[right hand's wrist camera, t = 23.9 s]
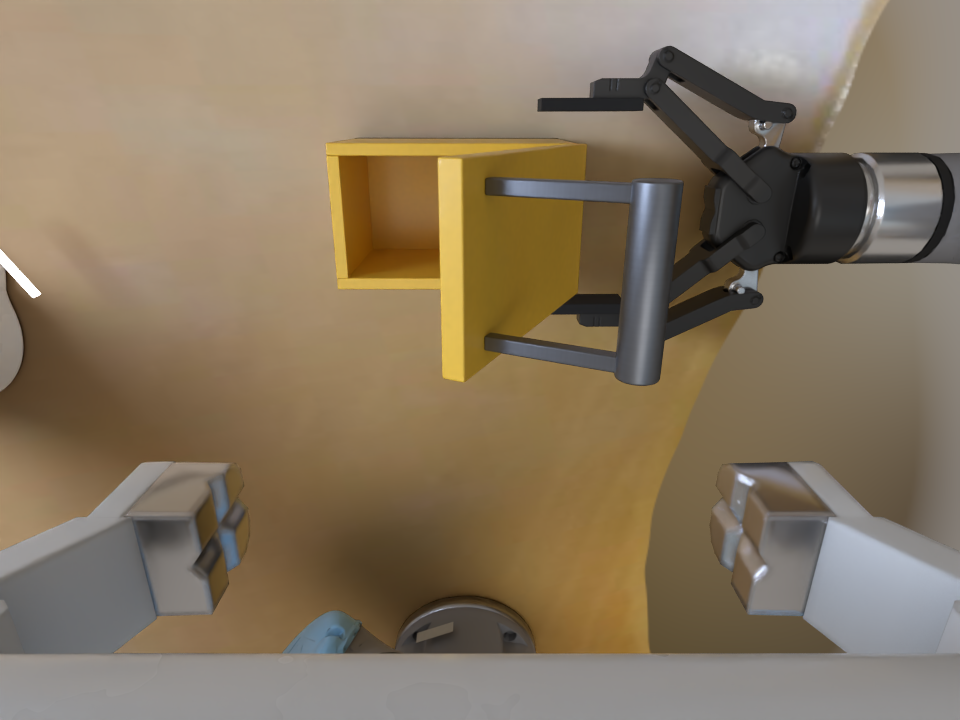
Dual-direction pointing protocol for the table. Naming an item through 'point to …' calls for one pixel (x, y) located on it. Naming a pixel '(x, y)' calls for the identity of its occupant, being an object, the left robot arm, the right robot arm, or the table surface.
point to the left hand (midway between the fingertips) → (535, 210)
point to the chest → (394, 206)
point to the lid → (546, 259)
